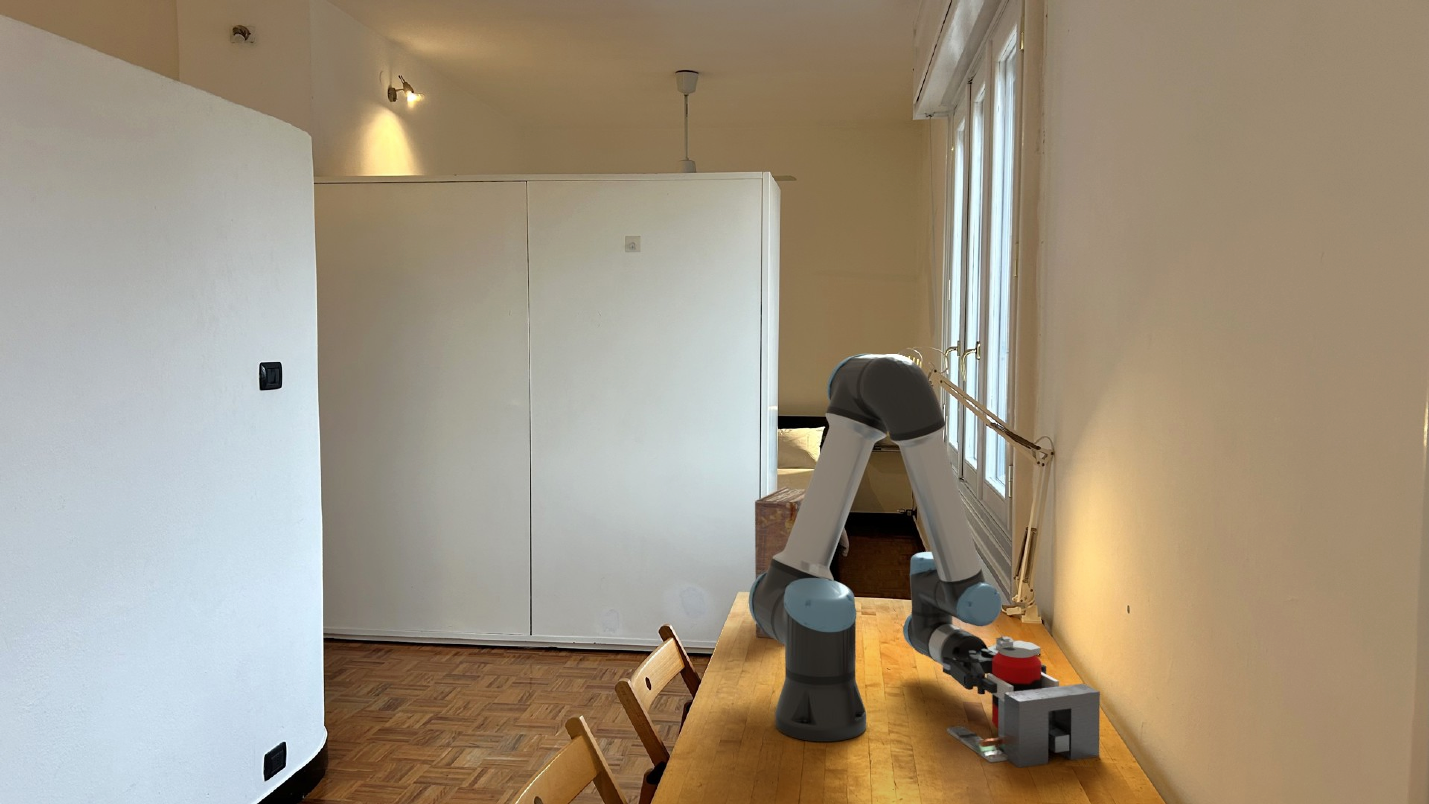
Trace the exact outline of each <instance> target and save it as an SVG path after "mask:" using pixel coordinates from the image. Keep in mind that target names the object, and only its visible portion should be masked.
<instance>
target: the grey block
mask: <svg viewBox="0 0 1429 804" xmlns="http://www.w3.org/2000/svg"><path fill="white" fill-rule="evenodd" d="M997 729H998V733H997V735H998V736H997V737H994V738H986V739H983V740H980V746H982V747H988V746H995V747H996V746H998V747H997V748H998V749H999V750H1000V751H1001V752H1003V753H1004V698H999V707H998V728H997ZM1048 750H1050V751H1052V752H1054V753H1059V752H1063V751H1069V735H1068V734H1067V733H1065V732H1063V731H1061V730H1060V729H1058V728H1056V727H1055V710H1054V711H1048Z"/></svg>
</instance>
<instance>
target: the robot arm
mask: <svg viewBox="0 0 1429 804" xmlns="http://www.w3.org/2000/svg"><path fill="white" fill-rule="evenodd" d="M826 394H827V396H828V400H829V404H828V406H827V409H826V412H825V417H826V421H827V422H828V425H829V428H828V430H827V434H826V437H825V439H824V442H823V444H822V447H821V449H820V452H819V455H818V458H817V460H816V463H815V466H814V468H813V471H812V475H811V477H810V480H809V483H808V485H807V488H806V489H805V490H806V493H805V495H804V498H803V501H802V504H801V506H800V509H799V512H798V514H797V517H796V520H795V523H794V525H793V528H792V531H791V533H790V536H789V539H788V542H787V544H786V547H785V549H784V551H783V552H780V553H778V554H776V555H774V556H773V558H772V560H771V563H770V565H769V568H768V571H766V572H764V573H763V574H761V575H760V576H759V577H758V578H757V579H756V578H755V580H754V582H753V583H752V586H751V587H750V590H749V595H748V608H749V611H750V612H749V613H750V615H751V618H752V619H753V621H754V622H755V625H756V624H757V625H758V626H759V627H760V629H761V630H762V631H763V632H765V633H766V634H767V635H768V636H770V637H772V638H771V639H774V640H776V641H777V642H778V643H780V644H781V645H783V646H784V651H785V652H784V656H785V657H784V658H785V659H784V661H785V663H784V664H785V665H784V667H785V668H784V669H785V671H784V672H785V673H784V674H785V677H784V682H783V685H782V688H781V691H780V694H779V698H778V701H777V702H776V703H777V704H776V707H775V712H774V718H775V719H774V724H775V728H776V729H777V728H778V729H777V730H778V731H779V730H780V731H779V732H781V731H782V732H781V733H782V734H784V735H786V736H788V735H789V737H791V738H794V737H795V738H794V739H797V740H798V739H799V740H804V741H811V742H838V741H845V740H849V739H852V738H855V737H858V736H860V735H861V734H863V733H864V732H865V730H866V729H867V711H866V707H865V705H864V701H863V699H862V696H861V694H860V693H861V692H860V690H859V687H858V683H857V679H856V660H857V659H856V651H857V650H856V649H857V648H856V641H857V638H856V630H857V629H856V628H857V627H856V623H857V622H856V621H857V609H856V601H855V600H856V599H855V595H854V593H853V591H852V590H851V589H850V588H849V587H848V586H846V585H845V584H844V583H841V582H838V581H836V580H834V577H833V574H832V572H831V570H830V566H831V563H832V560H833V557H834V555H835V552H836V549H837V546H838V543H839V542H840V538H841V535H842V534H843V530H844V528H845V525H846V522H847V519H848V516H849V514H850V511H851V508H852V505H853V503H854V500H855V497H856V495H857V492H858V489H859V487H860V484H861V482H862V478H863V476H864V474H865V470H866V467H867V464H868V462H869V459H870V457H871V453H872V451H873V449H874V446H875V444H876V443H877V442H878V441H880V440H883V439H885V438H886V437H887V435H889V438H890V441H891V442H892V443H894V444H896V445H898V447H899V450H900V454H901V457H902V461H903V463H904V467H905V470H906V473H907V476H908V480H909V484H910V486H911V490H912V492H913V496H914V500H915V503H916V507H917V510H918V512H919V515H920V520H921V524H922V525H923V529H924V532H925V536H926V538H927V543H928V545H929V548H930V551H924V552H923V551H922V552H917V553H915V554H914V555H912V556H911V558H910V564H909V565H910V569H909V571H910V573H909V574H908V575H909V578H910V579H909V581H910V582H909V583H910V599H911V601H910V602H911V613H910V614H909V615H907V617H906V619H905V622H904V624H903V627H902V633H903V636H904V640H905V642H906V643H907V644H908V645H909V646H910V647H912V649H914V650H915V651H916V652H917V653H919V654H920V655H924V656H925V657H928V658H930V659H931V660H933V661H934V662H936V663H938V664H939V665H941V666H942V673H944V674H947V675H948V676H950V677H952V678H953V679H954V680H955V681H956V682H957V683H958V684H959V685H961V686H962V687H963V688H965V689H966V690H968V691H971V690H974V687H976V688H977V689H976V691H977V694H978V695H985V694H986V692H987V693H990V694H993V695H995V696H997V697H998V698H1004V693H1008V692H1013V686H1012V685H1010V684H1008V683H1006V682H1005V681H1003V680H1001V679H999V678H997V677H996V676H994V675H992V659H993V657H994V656H995V655H996V654H997V653H996V652H992V651H991V650H989V649H988V648H987V647H988V646H987V644H986V643H985V641H984V640H983V639H982V638H980V637H978V636H976V635H974V634H973V633H972V632H969V631H968V630H965V629H963V628H961V627H959V626H956V625H955V624H953V618H955V619H957V620H959V621H961V622H963V623H964V624H968V625H972V626H975V627H985V626H986V627H987V626H989V625H991V624H992V623H994V622H995V621H996V620H997V619H998V617H999V616H1000V613H1001V610H1002V606H1003V604H1002V603H1003V600H1002V596H1001V594H1000V592H999V591H998V589H996V588H995V587H994V586H992V584H991V583H988V582H986V579H985V576H984V572H983V570H982V566H981V561H980V560H979V556H978V552H977V549H976V546H975V542H974V538H973V535H972V531H971V529H970V524H969V521H968V518H967V514H966V511H965V509H964V508H965V507H964V504H963V501H962V497H961V494H960V491H959V486H958V484H957V480H956V476H955V474H954V470H953V467H952V463H951V460H950V459H951V458H950V457H949V452H948V450H947V446H946V443H945V439H944V436H943V432H944V430H945V429H946V426H947V425H946V421H945V418H944V414H943V410H942V408H941V405H940V402H939V399H938V396H937V394H936V391H935V389H934V387H933V385H932V383H931V382H930V379H929V377H928V376H927V374H926V373H925V372H924V370H923V369H922V368H921V367H920V366H919V365H918V364H917V363H916V362H915V361H913V360H912V359H910V358H909V357H907V356H903V355H900V354H895V353H894V354H892V353H891V354H873V353H860V354H857V355H853V356H849V357H847V358H845V359H843V360H841V361H840V362H838V364H837V365H836V366H835V367H834V369H832V371H831V373H830V375H829V377H828V380H827V386H826ZM1058 686H1060V681H1059V679H1056V678H1054V677H1052V676H1050V675H1048V674H1047V665H1046V664H1042V663H1041V689H1042V688H1050V687H1058Z"/></svg>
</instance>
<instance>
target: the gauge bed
mask: <svg viewBox="0 0 1429 804" xmlns="http://www.w3.org/2000/svg"><path fill="white" fill-rule="evenodd" d="M1100 693H1101V692H1100V691H1099V690H1097V689H1095V688H1093V687H1091V686H1089V685H1087V684H1085V683H1076V684H1069V685H1059V686H1058V687H1050V688H1042V689H1033V690H1025V691H1017V692H1008V693H1004V753H1003V752H1002V751H1000V750H999V749H998V747H996V745H995V746H988V747H982V746H980V740H984V739H983V738H982V737H981V736H979V735H978V733H975V732H973V731H972V730H970V729H969V728H967V727H965V726H964V725H960V726H952V727H946V732H947V733H948V734H950V735H951V736H953V737H954V738H955V739H957V740H958V741H960V742H961V743H962V744H964V745H965V746H967V747H968V748H970V749H971V750H972V751H974V752H975V753H976V754H978V755H979V756H980V757H982V758H983V759H985V760H986V761H988V762H989V763H996V762H1003V761H1009V762H1010V763H1012V764H1013V765H1015V766H1016V767H1017V768H1027V767H1034V766H1040V765H1048V764H1049V748H1048V711H1054V710H1055V727H1056V728H1058V729H1060V730H1061V731H1063V732H1065V733H1067V734H1068V735H1069V751H1063V752H1058V753H1059V754H1061V755H1062V756H1064V757H1065V758H1067V759H1068V760H1070V761H1075V760H1082V759H1088V758H1090V759H1091V758H1097V757H1100V717H1101V716H1100V715H1101V713H1100V712H1101V711H1100V707H1101V706H1100V705H1101V704H1100V702H1101V701H1100V700H1101V699H1100V698H1101V697H1100V695H1101V694H1100Z"/></svg>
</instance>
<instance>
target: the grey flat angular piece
mask: <svg viewBox="0 0 1429 804" xmlns="http://www.w3.org/2000/svg"><path fill="white" fill-rule="evenodd" d="M995 639H996V640H995V644H993V645H991V646H987V648H988V649H989V650H991V651H992V652H996V653H997V652H998V651H999V650H1000V649H1002V648H1006V647H1019V648H1025V649H1029V650H1032V651H1033V652H1035V654H1036V655H1037V656H1039V655H1038V654H1041V647H1040V646H1039V645H1037V644H1035V643H1033V642H1031V641H1029V642H1028V641H1024V640H1014V639H1013V638H1012V637H1011V636H1010V635H1008V636H1004V634H1003V633H1001V637H995Z"/></svg>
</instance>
